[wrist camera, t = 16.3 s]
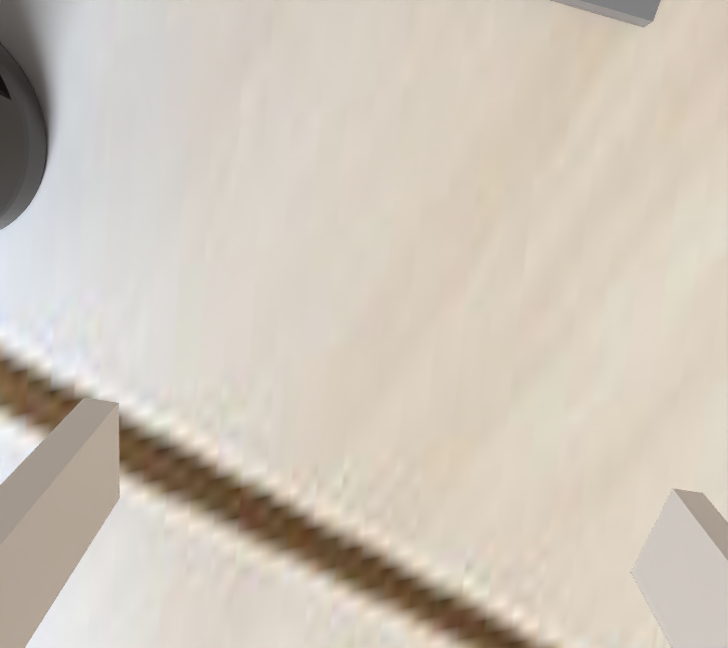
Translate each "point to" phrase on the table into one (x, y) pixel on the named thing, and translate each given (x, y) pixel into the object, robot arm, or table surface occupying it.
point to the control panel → (619, 9)
